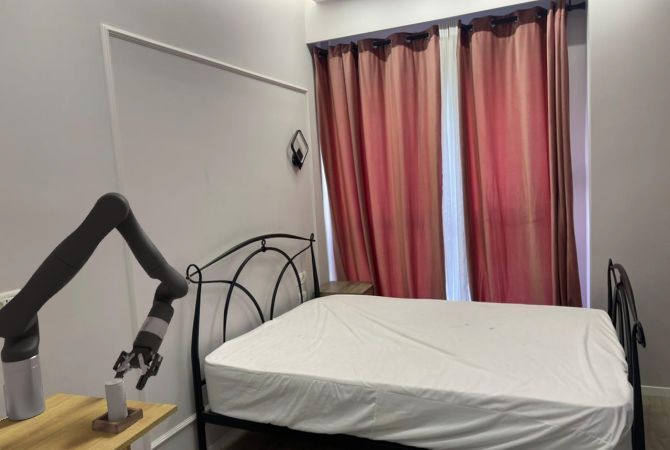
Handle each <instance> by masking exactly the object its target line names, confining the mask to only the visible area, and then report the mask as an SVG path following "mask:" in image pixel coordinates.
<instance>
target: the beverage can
mask: <svg viewBox="0 0 670 450" xmlns="http://www.w3.org/2000/svg"><path fill="white" fill-rule="evenodd" d="M104 383H105V384H104V391H105V399H106V409H107V412H108V418H109V421H110V422H119V421H121V420H122V419H124V418H126V417H127V415H128V414H127V407H128V406H127V397H126V387H125V380H124V377H123V378H111V379H109V380H107V381H105V382H104Z"/></svg>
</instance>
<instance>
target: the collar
mask: <svg viewBox="0 0 670 450" xmlns="http://www.w3.org/2000/svg"><path fill="white" fill-rule="evenodd" d="M127 414H128V415H127V417H126V418H124V419H122V420H121V421H119V422H110V421H109V418H108V411H106V412H105V413H103V414H102V415H99V416H98V417H97V418H94V419H93V420H91V427H92V428H91V429H92V431H97V432H103V433H110V434H117V435H119V434H121V433H123V432H124V431H126V430H127V429H128V428H130V427H131V426H133V425H134V424H136V423H137V422H139V421H140V420H142V419H143V418H144V412H143V408H139V407H130V406H127Z"/></svg>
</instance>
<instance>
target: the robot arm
mask: <svg viewBox="0 0 670 450" xmlns="http://www.w3.org/2000/svg"><path fill="white" fill-rule="evenodd" d="M114 229H115V230H116V231H117V232H118V233H119V234H120V235H121V236H122V238H123V239H124V241H125V242H126V244H127V245H128V248H129V249H130V250H131V253H132V254H133V256H134V258H135V259H136V261H137V263H138V264H139V265H140V267H141V268H142V269H143V270H144V272H145V274H146V275H147V276H148V277H150V279H152V280H158V281H159V282H160V283H159V284H158V286H157V287H156V289H155V292H154V296H153V300H152V305H151V308H150V309H149V312H148V314H147V315H146V318H145V319H144V321H143V323H142V324H141V327H140V328H139V330H138V332H137V335H136V336H135V339H134V340H133V343H132V349H131V351H129V352H127V351H125V350H122V351H121V352H120V354H119V356H118V357H117V360H116V361H115V363H114V364H113V367H112V370H113V371H114V372H116V373H115V375H114V378H123V379H124V377H125V375H126V374H127V373H128V372H131V371H132V370H134V369H136V370H137V369H140V370H141V373H142V374H140V376H139V378H138V381H137V383H136V385H135V389H136V390H137V391H143V389H144V388H145V387H146V385H147V382H148V380H149V379H150V378H151V377H156V376H157V375H158V372H159V371H160V367H161V364H162V362H163V359H164V356H162V355H161V354H160V353H159V350H160V347H161V346H162V343H163V341H164V339H165V337H166V334H167V332H168V328H169V326H170V324H171V321H172V320H173V317H174V315H175V308H174V307H173V306H172V304H173V302H174V301H175V300H180V299H182V298H184V297H186V296H187V295H188V293H189V289H190V288H189V284H188V281H187V279H186V278H185V276H183V275H182V274H181V273H180V272H179V271H178V270H177V269H175V267H173V265H171V264H169V263H168V261H167V259H166V258H165V257H164V256H163V254H162V252H161V251H160V250H159V249H158V247H157V245H155V243H154V242H153V241H152V239H150V237H149V236H148V234H147V233H146V232H145V231H144V229H143V228H142V226H141V225H140V223H139V222H138V220H137V217H136V216H135V214H134V212H133V210H132V208H131V206H130V204H129V200H128V199H127V198H126V197H125V196H124V195H123V194H121V193H118V192H107V193H105V194H103V195H101V196H100V197H99V198H98V199H97V200H96V202H95V203H94V205H93V207H92V208H91V209H90V211H89V213H88V214H87V215H86V217H85V218H84V220H83V221H82V222H81V223H80V225H78V227H77V228H75V229H74V231H72V232H71V233H70V234H68V235H67V236H66V237H65V238H64V239H63V240H62V241H61V242H60V243H59V244H58V245H57V246H56V247H54V249H53V250H52V251H51V252H50V253H49V254H48V255H47V257H46V258H45V259H44V260H43V261H42V263H41V264H39V266H38V267H37V269H36V270H35V271H34V272H33V273H32V275H31V277H29V279H28V281H27V282H26V283H25V285H24V286H23V287H22V288H21V289H20V290H19V292H17V293H16V295H15V296H13V297H12V298H10V300H9V301H8V302H6V303H5V305H3V306H2V307H1V308H0V338H1V339H4V341H3V346H2V348H1V351H0V361H1V367H2V369H1V370H2V375H3V383H4V384H3V385H2V390H3V398H4V406H5V413H6V417H7V418H8V419H9V420H10V421H23V420H27V419H30V418H34V417H35V416H38V415H40V414H41V413H43V412H44V411H45V410H46V401H45V400H46V399H45V391H44V383H43V375H42V367H41V360H40V351H39V349H40V342H41V341H40V340H41V339H40V338H41V337H40V336H41V335H40V323H39V315H38V313H39V311H40V310H41V309H42V308H43V307H44V305H45V304H46V303H47V302H48V301H49V300H50V299H52V298H53V297H54V296H55V295H57V294H58V293H59V292H60V291H61V290H63V288H65V287H66V286H67V285H68V284H69V283H70V282H71V281H72V280H73V279H74V278H75V276H77V274H78V273H80V271H81V270H82V269H83V267H84V266H85V265H86V263H87V262H88V261H89V260H90V258H91V257H92V256H93V254H94V253H95V251H96V249H97V248H98V246H99V245H100V243H102V241H103V240H104V239H105V237H107V236H108V235H109V234H110V233H111V232H112V231H113V230H114ZM150 363H151V364H150ZM114 378H113V379H114Z"/></svg>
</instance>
